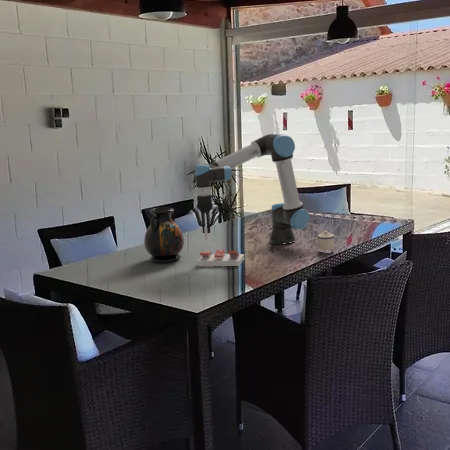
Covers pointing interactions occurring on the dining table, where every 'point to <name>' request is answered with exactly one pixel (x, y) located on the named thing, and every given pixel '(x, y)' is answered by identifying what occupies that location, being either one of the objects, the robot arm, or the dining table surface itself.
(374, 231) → the dining table surface
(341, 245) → the dining table surface
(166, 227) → the amphora vase
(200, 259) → the power strip
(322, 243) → the teacup with lid
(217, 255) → the rocker
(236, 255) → the rocker
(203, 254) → the rocker
